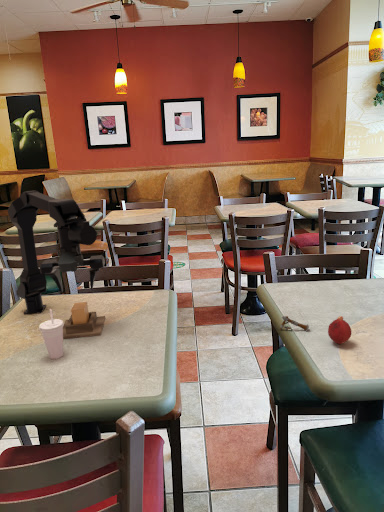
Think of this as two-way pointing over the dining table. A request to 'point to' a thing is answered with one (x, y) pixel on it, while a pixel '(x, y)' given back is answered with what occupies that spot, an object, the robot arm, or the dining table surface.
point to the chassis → (84, 327)
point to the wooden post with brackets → (292, 323)
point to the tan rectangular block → (80, 313)
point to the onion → (339, 330)
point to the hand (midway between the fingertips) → (77, 290)
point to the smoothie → (53, 336)
